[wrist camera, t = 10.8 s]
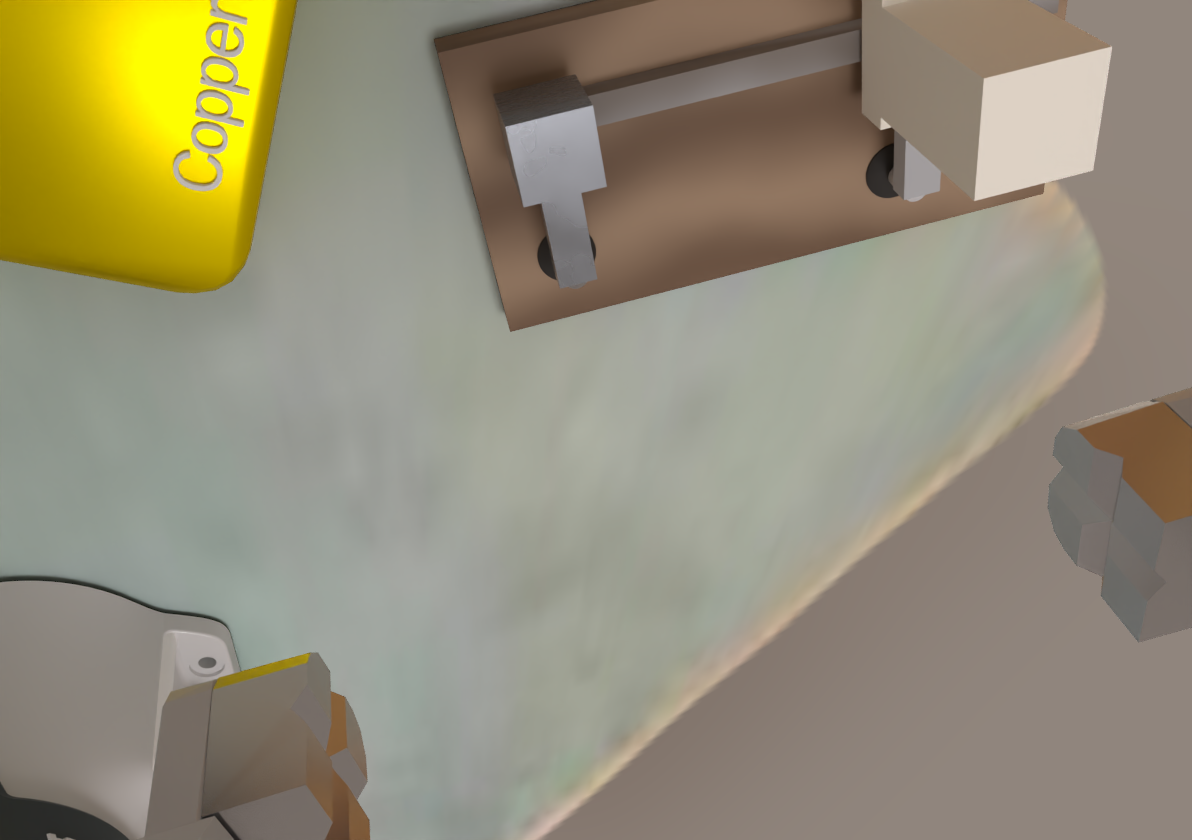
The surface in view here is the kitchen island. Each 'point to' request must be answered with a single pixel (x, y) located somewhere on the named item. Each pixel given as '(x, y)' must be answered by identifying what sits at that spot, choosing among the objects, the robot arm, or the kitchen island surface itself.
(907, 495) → the kitchen island surface
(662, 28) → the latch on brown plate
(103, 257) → the element tile
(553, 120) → the fixed leg
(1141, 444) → the robot arm
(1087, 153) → the block
